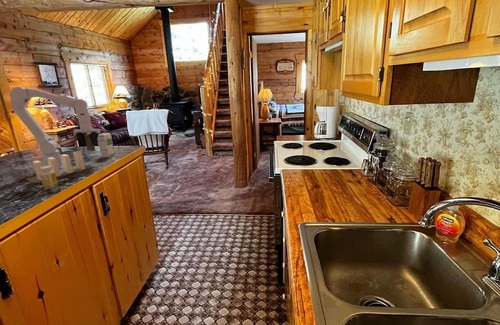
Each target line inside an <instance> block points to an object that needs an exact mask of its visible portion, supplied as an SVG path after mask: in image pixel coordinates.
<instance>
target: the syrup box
mask: <svg viewBox="0 0 500 325" xmlns="http://www.w3.org/2000/svg"><path fill="white" fill-rule="evenodd" d="M97 145H98V147H99V151H100V157H101V158H111V157H112V156H115V155H116V151H115V147H114V142H113V137H112V134H111V133H110V132H103V133H99V135H98V138H97Z"/></svg>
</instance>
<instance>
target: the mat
mask: <svg viewBox="0 0 500 325" xmlns="http://www.w3.org/2000/svg"><path fill="white" fill-rule="evenodd" d="M104 164H105V163H103V162H98V161H94V160H92V161H87V162H84V165H85V169H82V170H81V169H77V167H76V165H72V168H73V172H72V173H71V174H73V173H76V172H79V171H83V170H87V169H91V168H95V167H97V166H101V165H104ZM59 172H60V175H61V176H57V177H56V178H59V177H62V176H65V175H70V173H67V172H65V171H64V168H60V169H59ZM25 180H26V181H28V182H32V183H33V184H37V183H40V182H41V183H42V181H41V180H38V179H37V176H36V175H35V176H30V177H27V178H25Z"/></svg>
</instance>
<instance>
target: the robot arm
mask: <svg viewBox="0 0 500 325" xmlns="http://www.w3.org/2000/svg"><path fill="white" fill-rule="evenodd" d="M8 95H9V98H10V108H11V110H12V111H13V112H14V113H15V114H16V116H17V117H18V118H19V120H20V121H21V122H22V123H23V125H25V127H26V128H27V129H28V130H29V132H30V133H31V134H32V135H33V137H34V138H35V139H36V142H37V144H38V145H39V149H40V151H41V152H42V156H41V159H42V164H43V166H49V164H48V161H47V158H50V157H53V158H56V161H57V164H58V168H59V169H64V167H63V164H62V160H61V156H60V155H61V153H60V150H59V149H58V147H59V143H58V142H57V141H56V140H55V139H53V138H52V137H51V136H50V135H48V134H47V132H46V131H45V130H44V129H43V127H42V126H41V125H40V123H39V122H38V121H37V120H36V119H35V118H34V116H33V115H32V114H31V112H30V111H29V110H28V108H27V105H28V102H29V101H30V99H32V98H40V99H45V100H50V101H53V102H57V104H58V105H59V106H63V107H68V108H71V109H75V111H76V116H77V121H78V124H79V129H73V130H72V131H73V134H75V136H76V137H77V138H78V140H80V142H81V143H82V146H83V147H86V142H85V138H84V135H86V134H89V135H90V137H91V140H92V143H93V146H97V145H98V140H97V138H98V135H99V134H100V133H101V129H100V128H93V125H92V121H91V116H90V112H89V109H88V106H89V104H88V102H87V101H86V100H85V99H83V98H79V97H74V96H69V95H68V94H67V93H64V94H63V93H61V94H58V95H57V94H54V93H51V92H48V91H44V90H41V89H37V88H31V87H27V86H21V87H19V86H15V87H12V89H10V92H9V94H8ZM78 98H79V99H78Z"/></svg>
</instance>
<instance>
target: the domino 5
mask: <svg viewBox="0 0 500 325" xmlns="http://www.w3.org/2000/svg"><path fill="white" fill-rule="evenodd" d="M89 134H90V133H86V135H84V138H85V142H86V146H85V147H86V150H87V151H89V152H94V151H96V147H95V146H96V145H95V146H93V143H92V140H91V137H90V135H89Z"/></svg>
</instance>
